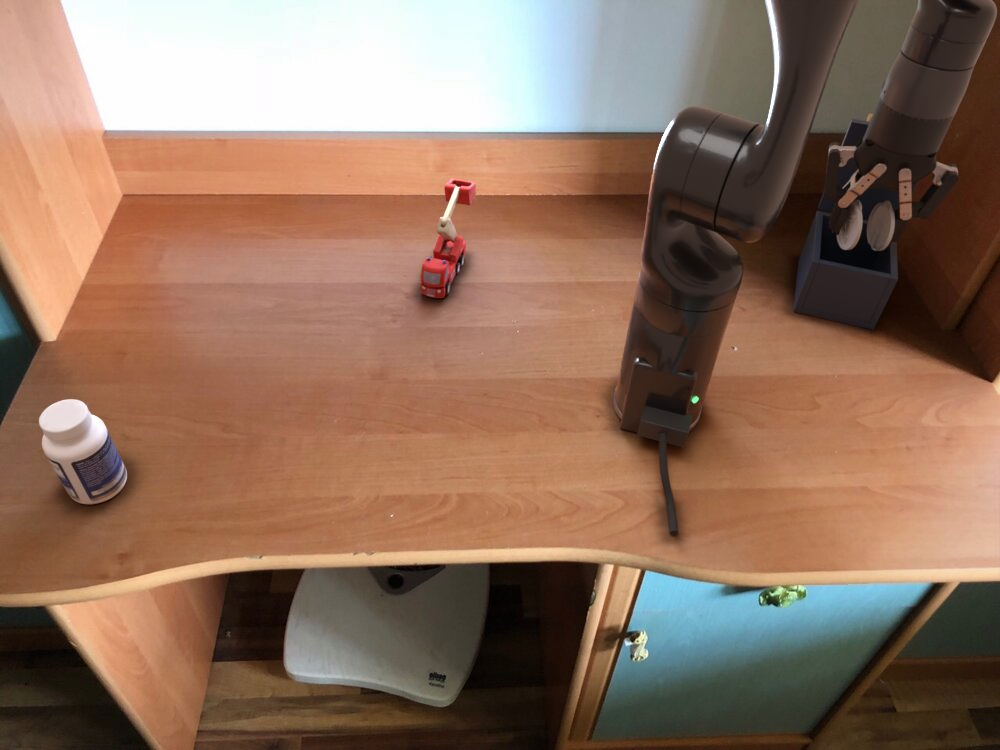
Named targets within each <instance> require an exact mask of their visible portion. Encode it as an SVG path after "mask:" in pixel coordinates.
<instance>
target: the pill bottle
mask: <svg viewBox="0 0 1000 750" xmlns="http://www.w3.org/2000/svg"><path fill="white" fill-rule="evenodd" d="M38 425H39V427H40V429H41V431H42V433H43V436H42V438H41V448H42V451H43V453H44V455H45V457H46V458H47V460H48V462H49V464H50V465H51V468H52V469H53V471H54V472H55V474H56V476H57V477H58V479H59V481H60V483H61V484H62V486H63V488H64V489H65V491H66V494H68V496H69V497H70V498H71V500H72V501H74V502H76V503H78V504H83V505H95V504H96V505H97V504H100V503H104V502H107V501H108V500H110V499H113V498H114V497H116V495H118V494H119V493H120V492H121V491H122V490H123V488H124V486H125V485H126V482H127V479H128V471H127V467H126V466H125V464H124V461H123V459H122V457H121V456H120V453H119V451H118V449H117V447H116V445H115V443H114V441H113V439H112V436H111V435H110V432H109V430H108V429H107V428H108V427H107V426H106V424H105V423H104V421H103V420H102V418H100V417H98V416H97V415H94V414H92V413H91V411H90V410H89V407H88V406H87V404H86V403H85V402H83V401H82V400H79V399H75V398H74V399H73V398H69V399H67V398H66V399H63V400H58V401H57V402H54V403H52V404H51V405H49V406H47V407H46V408H44V410H43V411H42V413H41V414H40V415H39V418H38Z"/></svg>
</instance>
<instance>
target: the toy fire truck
mask: <svg viewBox="0 0 1000 750" xmlns="http://www.w3.org/2000/svg"><path fill="white" fill-rule="evenodd" d="M476 195H477V185H476V182H475V181H468V180H462V179H456V178H451V179H449V180H448V181H447V182H446V183H445V185H444V197H445V198H444V199H445V202H447V203H448V204H447V206H446V209H445V211H444V214H443V216H440V217H439V220H438V226H437V229H436V233H437V234H438V236H437V239H436V241H435V245H434V247H433V250H432V253H433V255H432V256H433V257H430V256H426V257H425V258H424V260H423V262H422V265H421V271H420V292H421V294H422V295H424V296H426V297H429V298H435V299H444V298H445V297H446V295H449V294H450V292H451V285H452V283H453V281H454V278H455V277H456V275H457V274H459V273H460V270H461V267H463V266H464V263H465V257H466V255H467V242H466V241H464V237H463V236H458V232H457V231H456V228H455V226H454V223H453V221H452V219H451V218H452V215H453V214H454V211H455V208H456V206H457V204H458V205H465V206H471V204H472V203H473V200H474V198H476Z"/></svg>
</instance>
